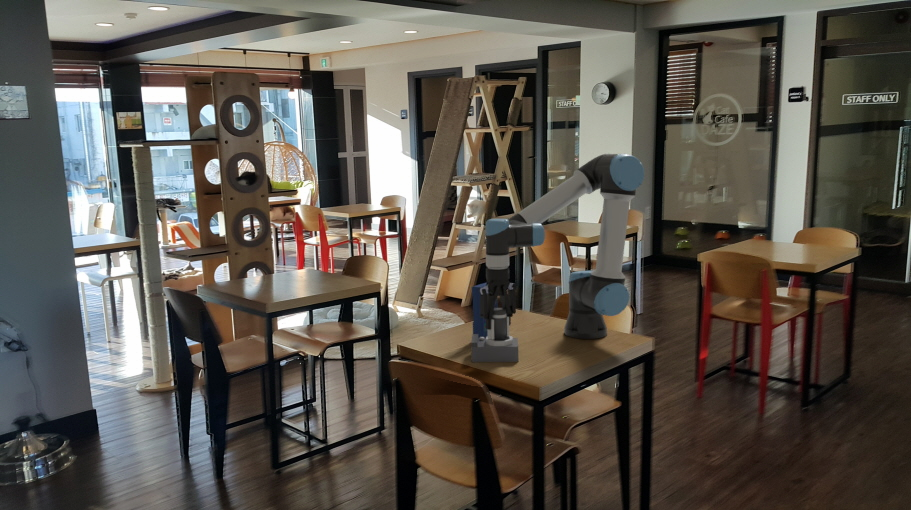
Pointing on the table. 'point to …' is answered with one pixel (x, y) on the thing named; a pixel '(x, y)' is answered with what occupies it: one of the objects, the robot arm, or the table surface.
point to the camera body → (494, 349)
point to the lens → (499, 324)
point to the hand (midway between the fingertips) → (498, 336)
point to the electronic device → (479, 322)
